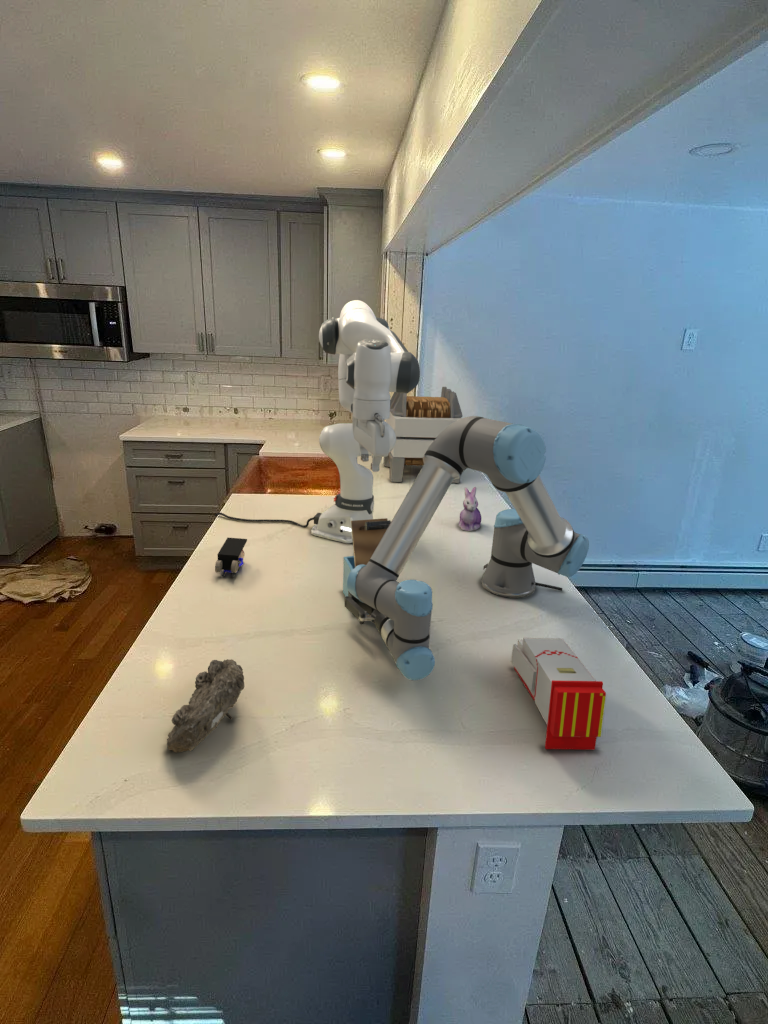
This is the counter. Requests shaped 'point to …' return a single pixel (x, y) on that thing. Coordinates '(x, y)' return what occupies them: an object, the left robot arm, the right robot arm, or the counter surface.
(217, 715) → the fossil
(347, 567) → the chest
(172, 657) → the counter surface
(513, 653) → the toy
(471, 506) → the figurine
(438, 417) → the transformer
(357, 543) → the lid
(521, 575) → the right robot arm
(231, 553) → the black toy rover
